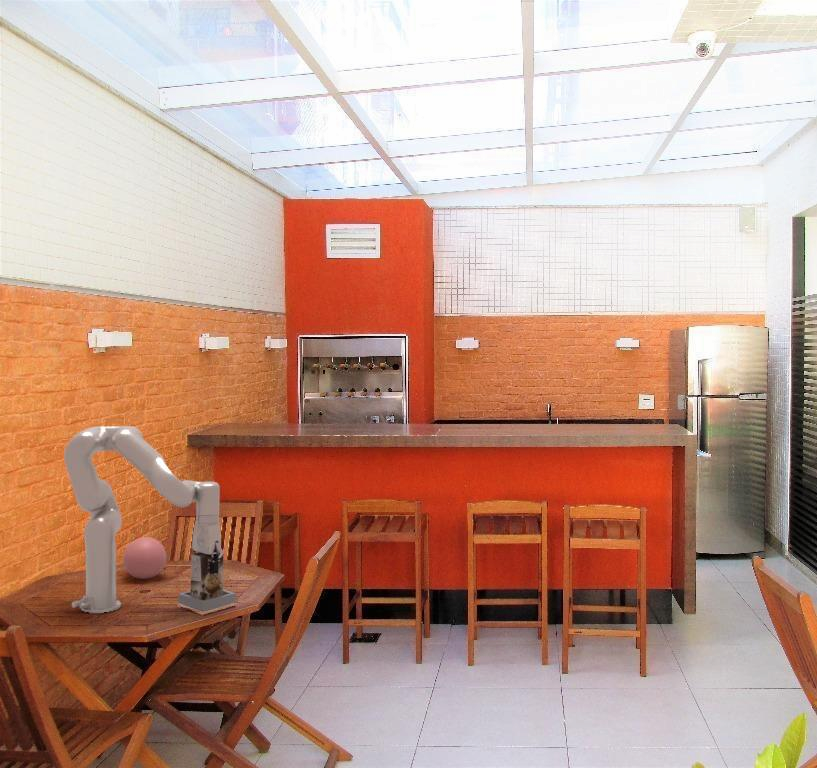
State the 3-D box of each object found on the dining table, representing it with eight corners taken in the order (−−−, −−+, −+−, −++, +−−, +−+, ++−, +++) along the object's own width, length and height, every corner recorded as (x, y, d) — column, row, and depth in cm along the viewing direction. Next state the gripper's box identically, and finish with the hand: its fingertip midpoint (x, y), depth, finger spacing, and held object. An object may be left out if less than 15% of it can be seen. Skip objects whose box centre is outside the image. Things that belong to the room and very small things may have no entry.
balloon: (153, 567, 335) (153, 528, 334) (172, 580, 319) (172, 539, 318) (113, 573, 326) (113, 533, 325) (131, 586, 310) (131, 544, 309)
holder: (203, 615, 280) (203, 602, 280) (178, 606, 288) (178, 593, 288) (235, 606, 290) (235, 593, 290) (211, 597, 299) (211, 585, 298)
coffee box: (202, 605, 283) (202, 556, 283) (189, 601, 287) (190, 553, 287) (223, 598, 291) (224, 551, 290) (211, 595, 295) (211, 548, 294)
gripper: (182, 516, 290) (182, 568, 291) (214, 524, 279) (213, 578, 280) (201, 513, 296) (200, 564, 297) (233, 521, 285) (232, 574, 286)
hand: (207, 570), depth 288 cm, fingers open, 6 cm apart
